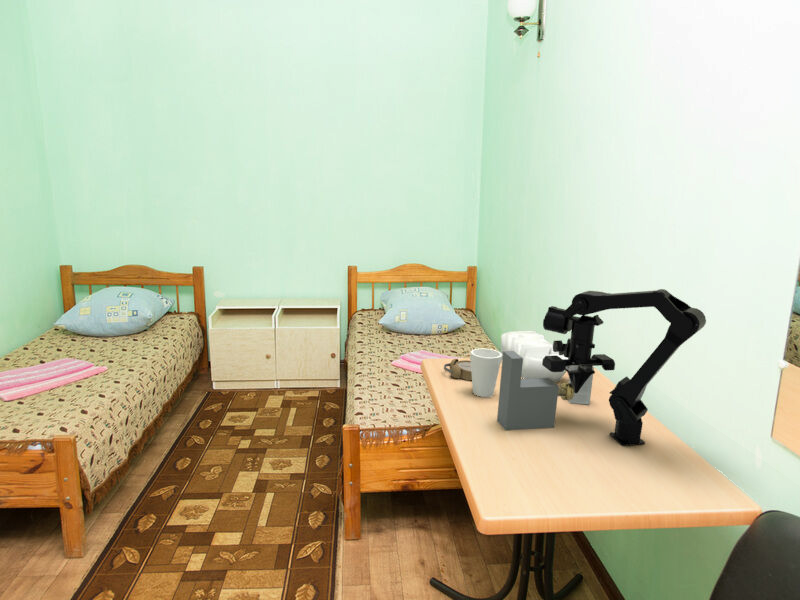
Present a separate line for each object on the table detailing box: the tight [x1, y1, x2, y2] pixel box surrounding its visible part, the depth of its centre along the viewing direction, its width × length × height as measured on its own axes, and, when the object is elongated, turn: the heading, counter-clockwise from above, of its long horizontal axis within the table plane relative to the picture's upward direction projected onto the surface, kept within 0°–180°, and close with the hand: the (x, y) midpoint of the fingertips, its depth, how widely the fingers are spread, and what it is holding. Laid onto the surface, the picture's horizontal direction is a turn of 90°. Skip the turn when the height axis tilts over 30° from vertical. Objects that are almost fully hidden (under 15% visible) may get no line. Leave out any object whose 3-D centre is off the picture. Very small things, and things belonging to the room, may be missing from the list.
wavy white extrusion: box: [500, 330, 568, 383], centre depth 198 cm, size 35×16×11 cm, turn 8°
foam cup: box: [469, 347, 502, 398], centre depth 173 cm, size 10×9×13 cm
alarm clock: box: [443, 358, 472, 381], centre depth 189 cm, size 11×5×15 cm
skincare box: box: [568, 366, 595, 405], centre depth 170 cm, size 6×4×12 cm
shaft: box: [558, 382, 574, 401], centre depth 153 cm, size 5×13×5 cm, turn 102°
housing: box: [496, 351, 560, 431], centre depth 152 cm, size 6×14×20 cm, turn 102°
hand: (575, 392), depth 155 cm, fingers closed
